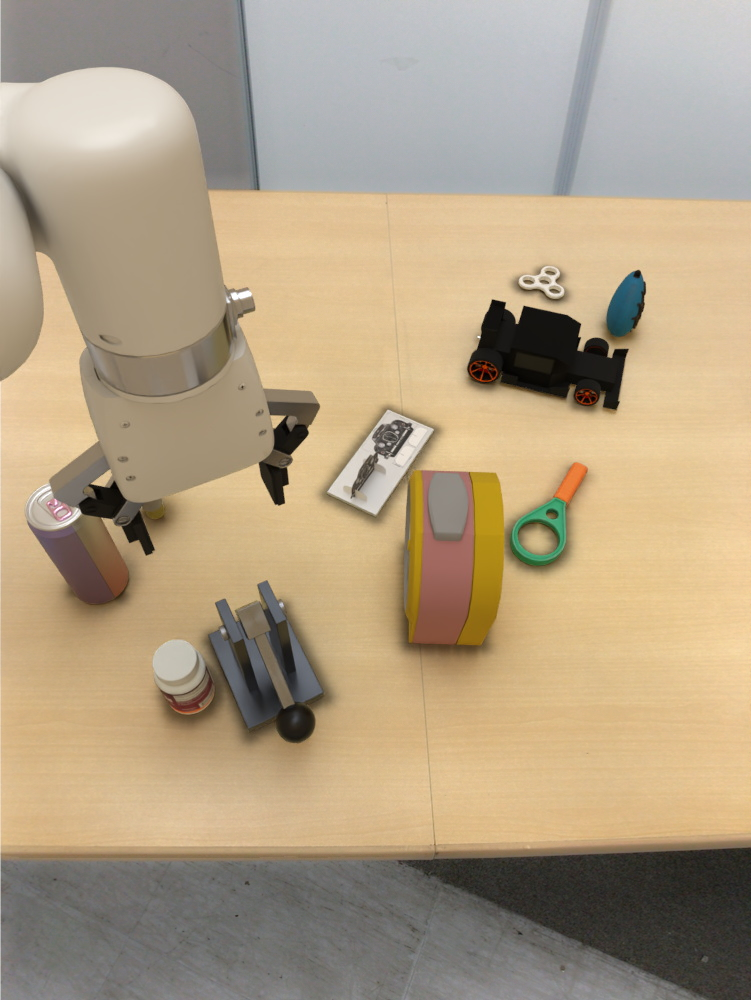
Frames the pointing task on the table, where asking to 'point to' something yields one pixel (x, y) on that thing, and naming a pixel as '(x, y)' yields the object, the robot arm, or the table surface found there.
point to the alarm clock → (453, 556)
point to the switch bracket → (249, 668)
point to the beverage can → (77, 547)
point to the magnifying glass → (539, 515)
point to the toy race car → (546, 356)
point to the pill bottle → (183, 676)
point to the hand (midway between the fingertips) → (210, 514)
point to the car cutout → (380, 463)
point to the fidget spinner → (544, 287)
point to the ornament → (626, 305)
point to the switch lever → (276, 677)
